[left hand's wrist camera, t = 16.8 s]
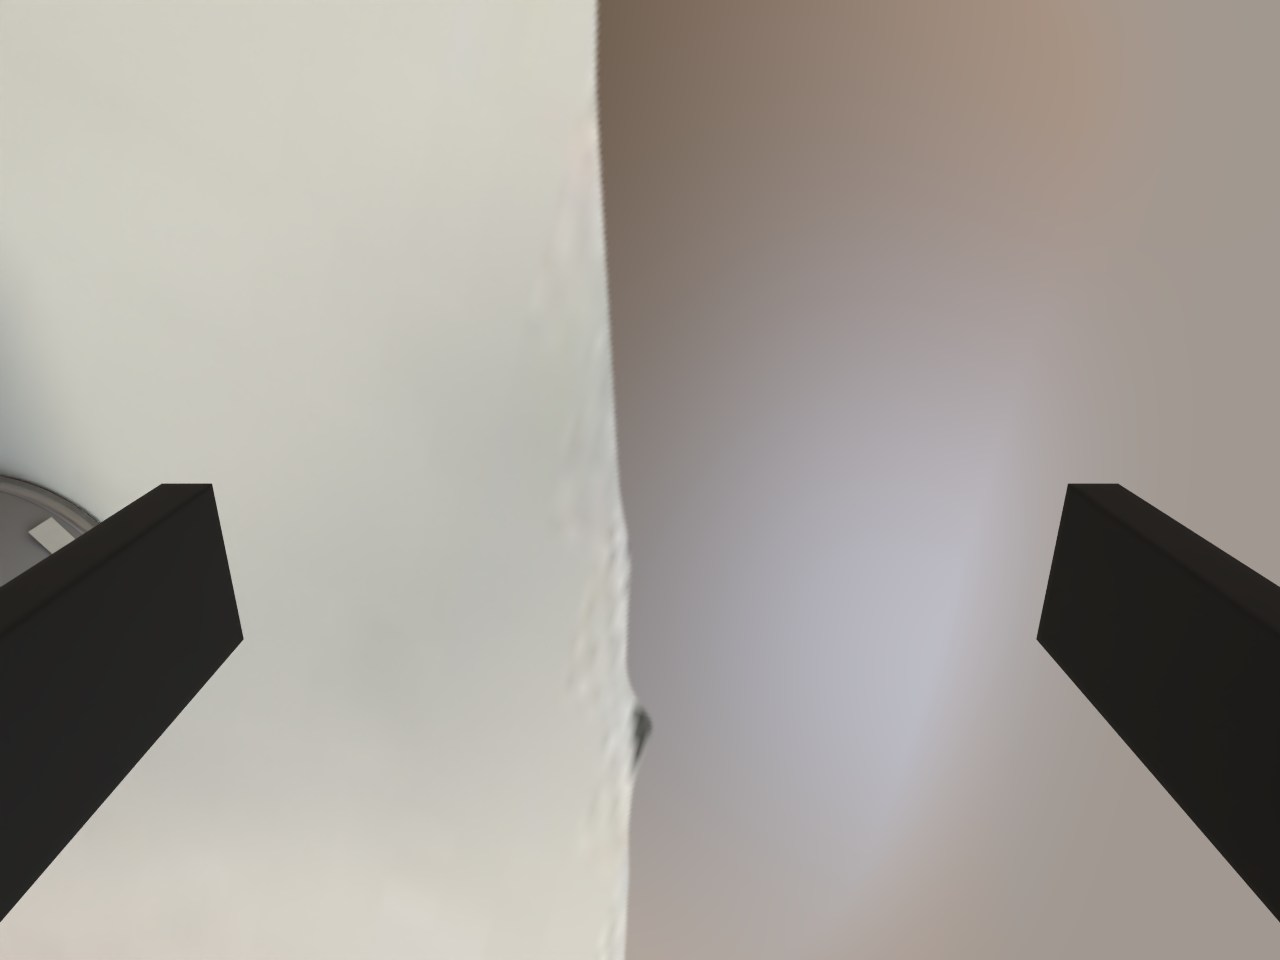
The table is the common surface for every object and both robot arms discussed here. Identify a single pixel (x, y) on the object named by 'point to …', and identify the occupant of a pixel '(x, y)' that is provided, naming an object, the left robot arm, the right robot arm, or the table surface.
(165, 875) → the table surface
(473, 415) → the table surface
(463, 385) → the table surface
